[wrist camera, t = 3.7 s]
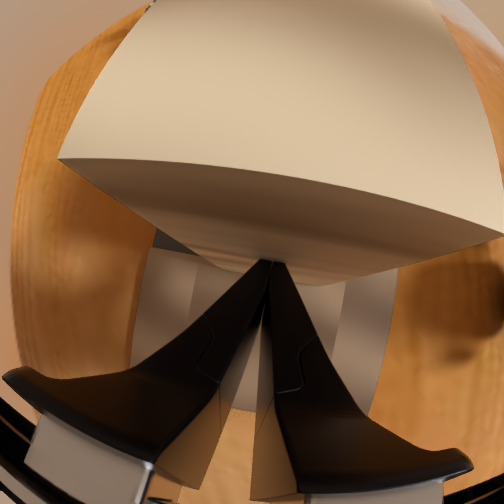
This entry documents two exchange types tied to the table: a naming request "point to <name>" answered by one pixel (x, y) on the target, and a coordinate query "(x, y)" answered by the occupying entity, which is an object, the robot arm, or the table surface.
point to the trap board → (314, 298)
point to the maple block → (295, 135)
